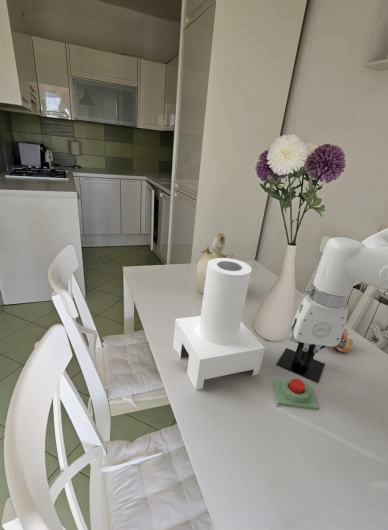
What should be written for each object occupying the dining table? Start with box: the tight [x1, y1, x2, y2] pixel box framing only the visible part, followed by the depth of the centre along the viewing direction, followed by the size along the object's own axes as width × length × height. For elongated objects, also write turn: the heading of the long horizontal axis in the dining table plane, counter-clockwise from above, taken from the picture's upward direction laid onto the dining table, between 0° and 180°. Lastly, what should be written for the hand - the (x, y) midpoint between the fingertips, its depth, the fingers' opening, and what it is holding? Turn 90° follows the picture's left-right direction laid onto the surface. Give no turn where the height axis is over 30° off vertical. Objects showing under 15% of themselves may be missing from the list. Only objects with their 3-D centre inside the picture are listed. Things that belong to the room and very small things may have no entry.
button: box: [289, 378, 306, 394], centre depth 77 cm, size 4×4×2 cm
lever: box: [337, 338, 354, 353], centre depth 83 cm, size 12×5×2 cm, turn 58°
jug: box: [196, 232, 234, 295], centre depth 124 cm, size 15×16×25 cm
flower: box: [329, 328, 349, 353], centre depth 100 cm, size 10×9×8 cm
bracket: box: [276, 343, 326, 384], centre depth 88 cm, size 12×10×12 cm
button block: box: [271, 378, 319, 411], centre depth 78 cm, size 10×8×4 cm
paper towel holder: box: [172, 258, 266, 391], centre depth 82 cm, size 19×19×30 cm
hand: (303, 362), depth 74 cm, fingers closed
